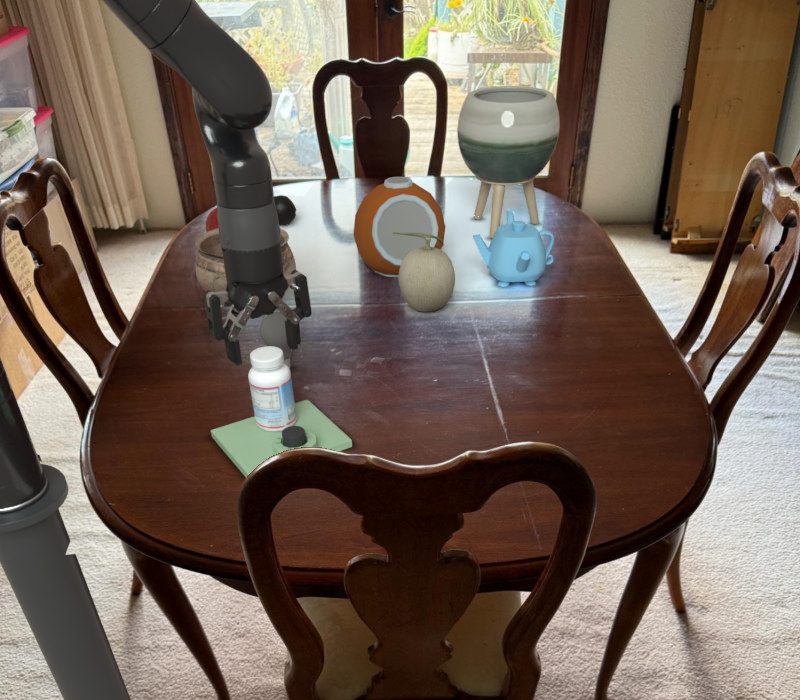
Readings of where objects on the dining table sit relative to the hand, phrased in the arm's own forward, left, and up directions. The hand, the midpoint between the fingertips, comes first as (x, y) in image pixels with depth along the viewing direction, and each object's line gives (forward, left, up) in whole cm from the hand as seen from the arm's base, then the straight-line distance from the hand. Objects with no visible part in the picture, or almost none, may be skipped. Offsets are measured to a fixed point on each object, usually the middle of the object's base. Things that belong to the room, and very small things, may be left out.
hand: (265, 355), depth 109 cm
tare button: (-1, -9, -10) cm, 13 cm away
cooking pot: (+16, +45, -12) cm, 50 cm away
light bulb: (+9, +16, -12) cm, 22 cm away
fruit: (+43, +23, -12) cm, 51 cm away
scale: (-1, -4, -12) cm, 13 cm away
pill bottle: (0, 0, -11) cm, 11 cm away
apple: (+25, +79, -12) cm, 84 cm away
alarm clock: (+50, +44, -12) cm, 68 cm away
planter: (+83, +51, -12) cm, 99 cm away
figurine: (+44, +89, -12) cm, 100 cm away
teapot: (+65, +25, -12) cm, 71 cm away
